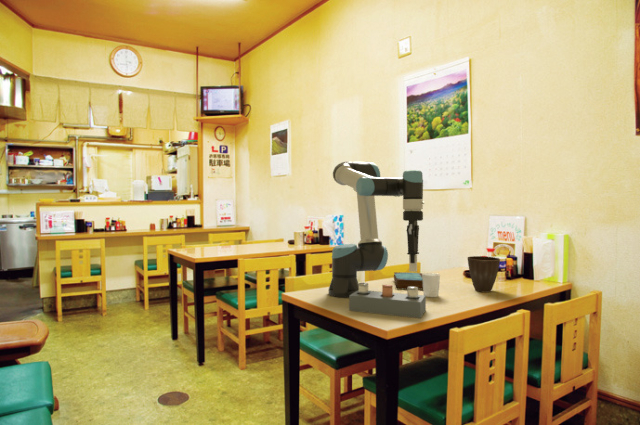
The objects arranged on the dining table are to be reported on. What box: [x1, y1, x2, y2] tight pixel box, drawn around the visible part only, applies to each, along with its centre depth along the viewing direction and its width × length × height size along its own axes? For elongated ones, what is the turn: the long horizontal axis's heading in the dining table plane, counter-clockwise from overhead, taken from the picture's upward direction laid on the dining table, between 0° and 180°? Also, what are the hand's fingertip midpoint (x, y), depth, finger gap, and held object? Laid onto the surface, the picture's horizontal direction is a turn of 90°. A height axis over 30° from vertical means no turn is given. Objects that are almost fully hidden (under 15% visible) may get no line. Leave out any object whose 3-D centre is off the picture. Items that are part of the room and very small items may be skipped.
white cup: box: [422, 272, 441, 298], centre depth 186 cm, size 8×8×10 cm
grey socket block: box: [348, 290, 427, 319], centre depth 160 cm, size 28×12×6 cm, turn 66°
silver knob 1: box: [358, 282, 369, 295], centre depth 164 cm, size 4×4×6 cm
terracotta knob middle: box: [381, 284, 394, 297], centre depth 160 cm, size 4×4×6 cm
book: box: [393, 271, 423, 290], centre depth 213 cm, size 23×18×5 cm
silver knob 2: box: [406, 287, 419, 300], centre depth 156 cm, size 4×4×6 cm
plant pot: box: [467, 255, 501, 293], centre depth 197 cm, size 15×15×16 cm
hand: (413, 271), depth 155 cm, fingers closed
